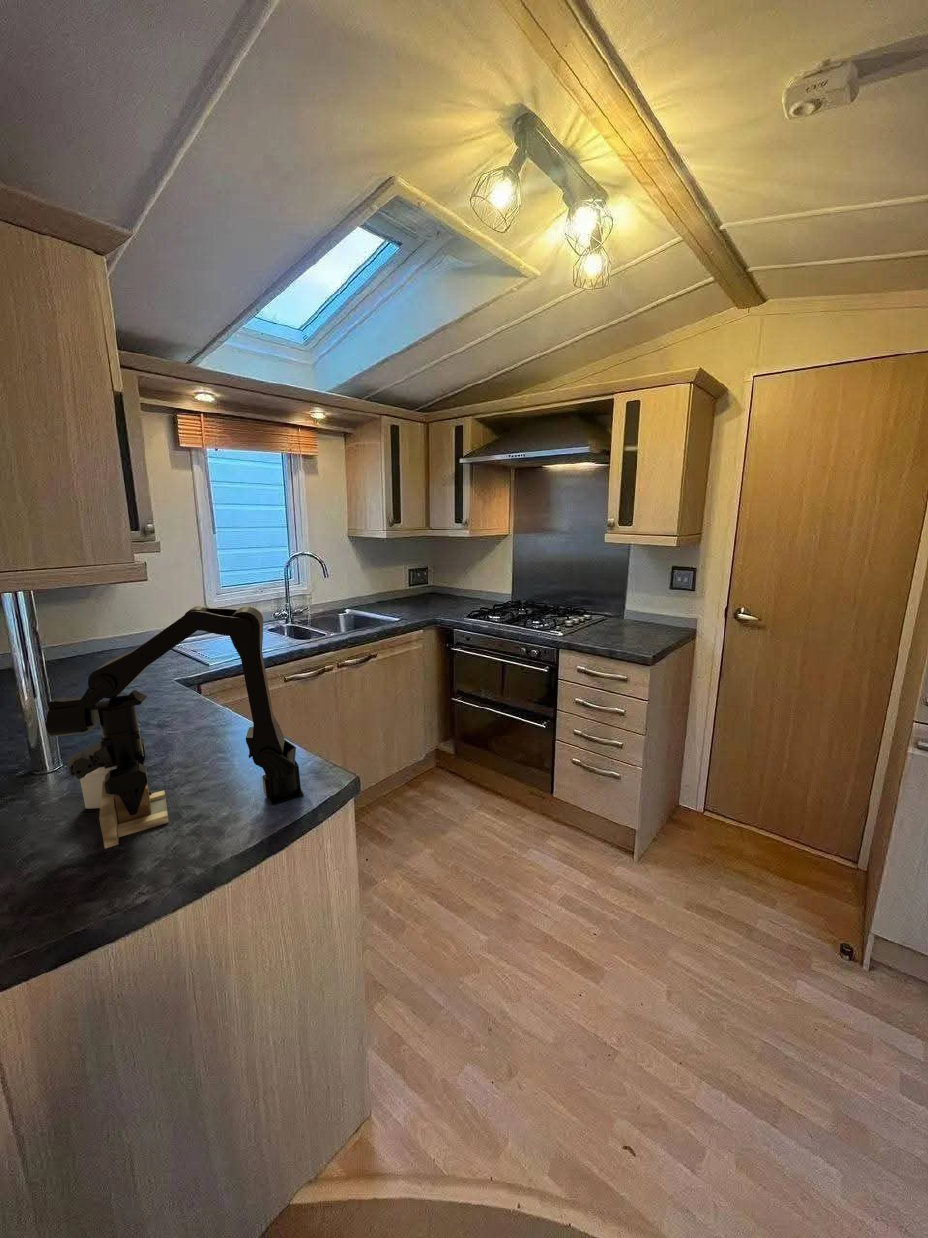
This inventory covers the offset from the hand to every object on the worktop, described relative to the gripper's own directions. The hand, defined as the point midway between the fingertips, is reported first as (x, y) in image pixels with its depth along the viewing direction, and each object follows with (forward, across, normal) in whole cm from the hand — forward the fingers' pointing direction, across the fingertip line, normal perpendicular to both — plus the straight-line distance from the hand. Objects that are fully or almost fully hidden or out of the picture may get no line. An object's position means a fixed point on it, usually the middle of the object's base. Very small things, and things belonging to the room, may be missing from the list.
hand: (133, 803), depth 98 cm
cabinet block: (+2, 0, 0) cm, 2 cm away
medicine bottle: (+4, -11, -4) cm, 12 cm away
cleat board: (+3, 0, 0) cm, 3 cm away
